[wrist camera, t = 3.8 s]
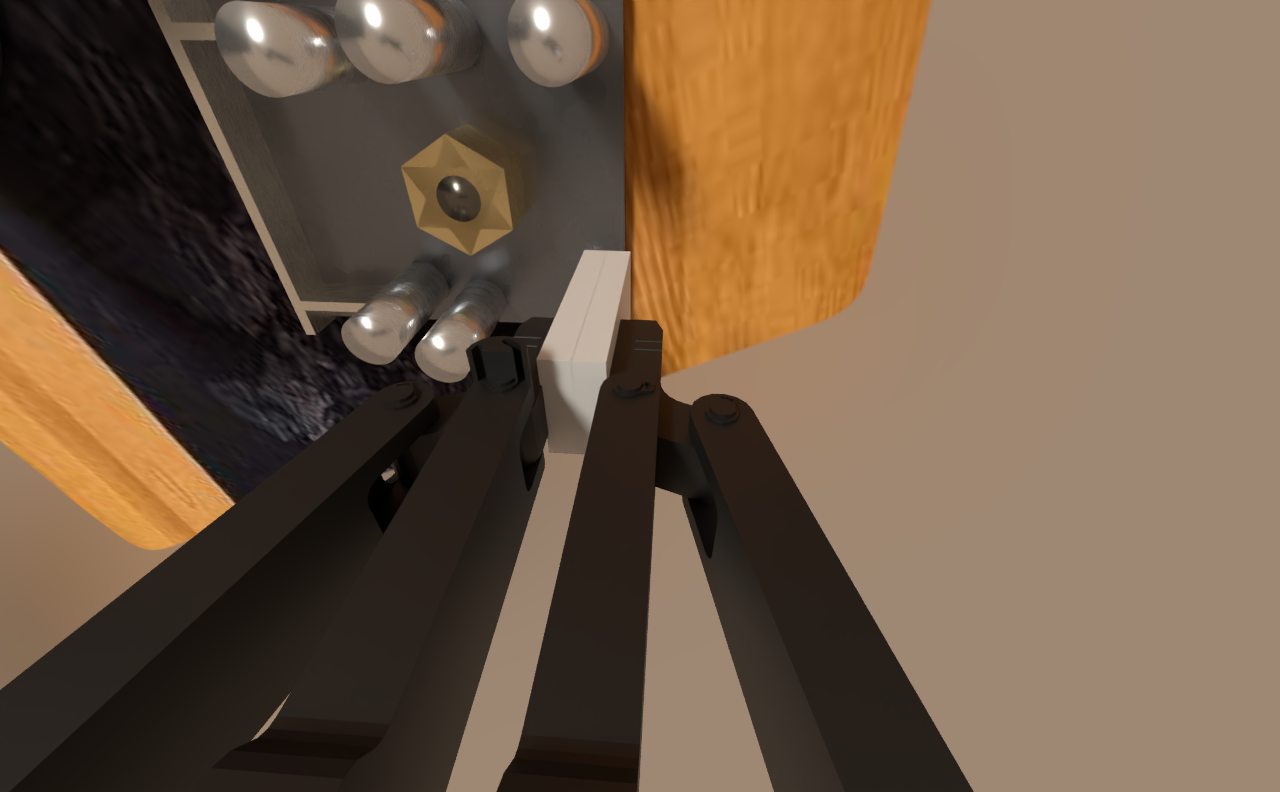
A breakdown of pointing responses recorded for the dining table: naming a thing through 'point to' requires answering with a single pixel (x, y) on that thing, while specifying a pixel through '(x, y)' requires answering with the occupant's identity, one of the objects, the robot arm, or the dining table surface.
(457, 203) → the nut
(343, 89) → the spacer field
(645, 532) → the robot arm
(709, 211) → the dining table surface
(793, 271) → the dining table surface
